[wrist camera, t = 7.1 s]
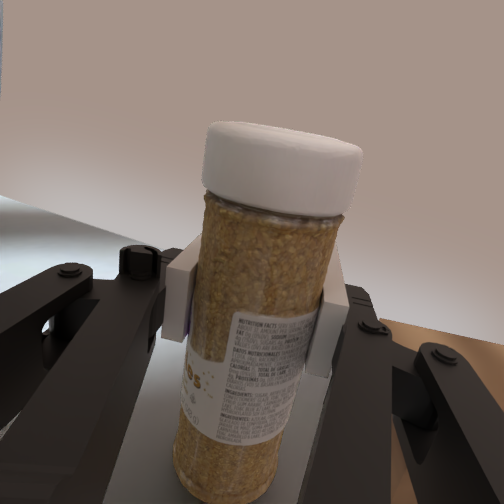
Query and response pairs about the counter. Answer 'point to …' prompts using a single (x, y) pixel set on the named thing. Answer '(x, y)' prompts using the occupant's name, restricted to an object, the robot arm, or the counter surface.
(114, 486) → the counter surface
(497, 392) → the walnut base
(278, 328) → the sprinkles bottle
